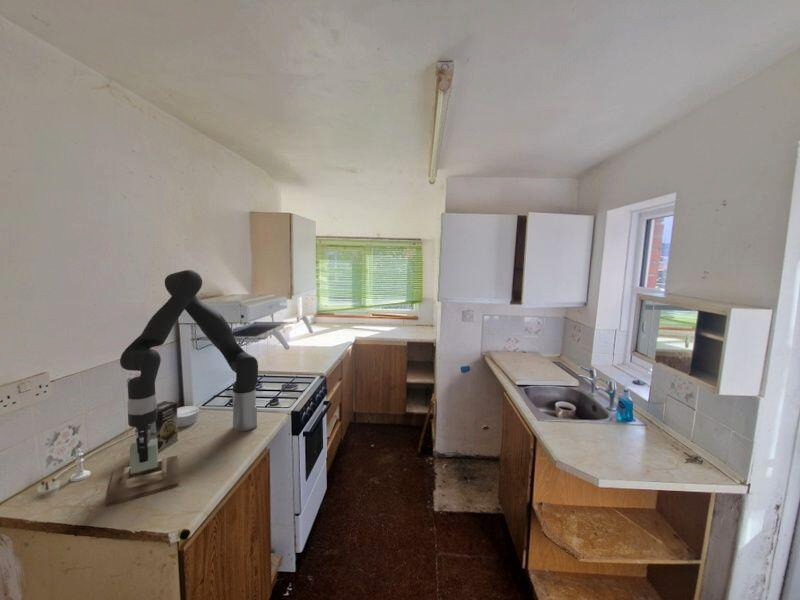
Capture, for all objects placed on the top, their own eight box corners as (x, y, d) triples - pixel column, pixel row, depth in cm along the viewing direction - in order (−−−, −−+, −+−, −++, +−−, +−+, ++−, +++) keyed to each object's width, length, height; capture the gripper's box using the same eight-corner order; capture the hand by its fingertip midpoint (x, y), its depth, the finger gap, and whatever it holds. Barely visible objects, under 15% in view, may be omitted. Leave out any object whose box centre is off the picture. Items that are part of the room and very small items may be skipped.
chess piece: (79, 472, 113) (77, 444, 112) (94, 472, 114) (92, 444, 112) (65, 481, 108) (63, 452, 107) (82, 481, 109) (80, 452, 108)
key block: (132, 466, 111) (131, 443, 110) (157, 460, 114) (157, 438, 114) (130, 473, 107) (129, 450, 106) (157, 467, 111) (156, 444, 110)
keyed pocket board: (177, 457, 124) (177, 448, 123) (178, 485, 109) (177, 475, 108) (114, 473, 113) (113, 463, 113) (105, 506, 99) (105, 495, 98)
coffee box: (158, 452, 126) (157, 412, 125) (144, 449, 128) (142, 409, 126) (178, 440, 135) (177, 402, 133) (165, 437, 136) (164, 400, 135)
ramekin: (189, 429, 144) (188, 417, 144) (163, 427, 144) (163, 416, 144) (204, 417, 155) (204, 406, 155) (181, 415, 156) (180, 405, 155)
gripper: (130, 402, 112) (132, 450, 114) (125, 420, 100) (127, 472, 102) (157, 398, 116) (159, 444, 118) (155, 414, 105) (157, 465, 107)
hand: (144, 457), depth 110 cm, fingers closed on key block, 4 cm apart
